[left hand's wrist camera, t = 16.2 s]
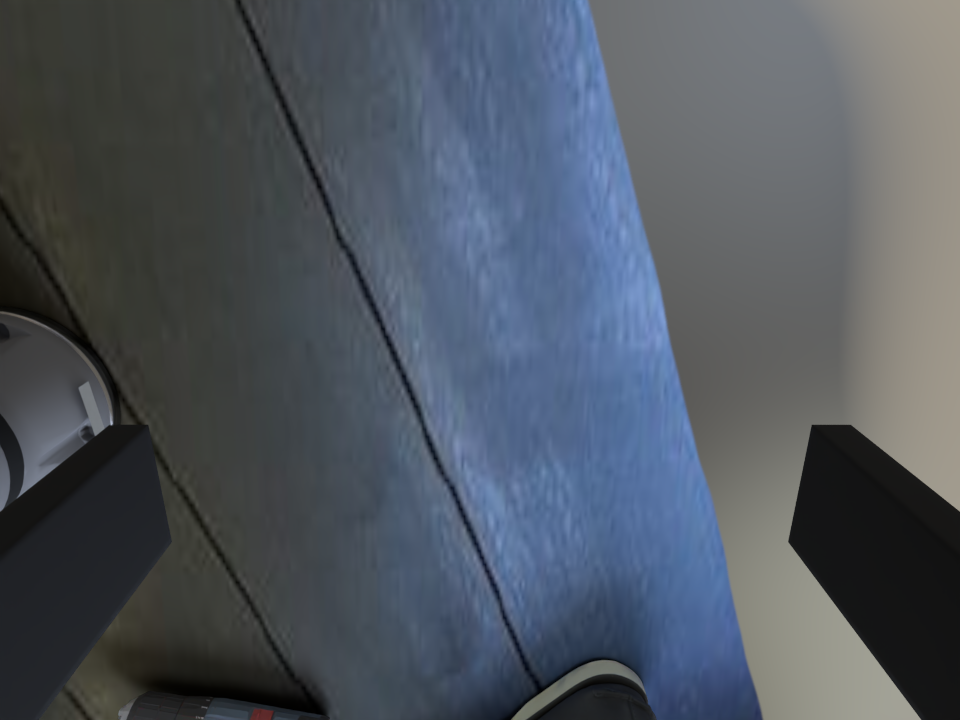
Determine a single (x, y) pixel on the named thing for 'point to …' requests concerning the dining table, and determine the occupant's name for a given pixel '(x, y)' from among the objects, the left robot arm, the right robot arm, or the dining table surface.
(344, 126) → the dining table surface
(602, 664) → the boat shoe
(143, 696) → the power drill
